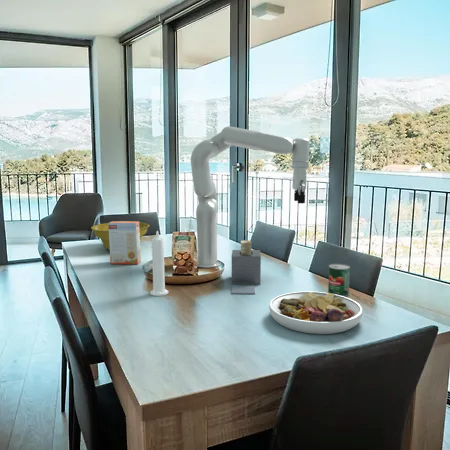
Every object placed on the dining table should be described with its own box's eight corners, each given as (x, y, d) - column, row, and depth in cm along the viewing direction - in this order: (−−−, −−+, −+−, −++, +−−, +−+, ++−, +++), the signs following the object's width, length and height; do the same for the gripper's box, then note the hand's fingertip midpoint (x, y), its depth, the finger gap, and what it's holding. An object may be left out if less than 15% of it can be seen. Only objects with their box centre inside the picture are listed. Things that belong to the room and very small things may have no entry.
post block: (231, 284, 190) (231, 256, 188) (232, 276, 202) (232, 249, 200) (260, 284, 189) (260, 256, 187) (259, 276, 201) (259, 250, 199)
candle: (164, 296, 174) (163, 232, 170) (147, 295, 176) (145, 232, 172) (170, 291, 181) (169, 229, 177) (153, 290, 183) (151, 228, 178)
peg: (240, 265, 192) (240, 242, 191) (241, 263, 197) (241, 240, 195) (251, 265, 192) (251, 242, 190) (251, 263, 196) (251, 240, 195)
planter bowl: (102, 243, 275) (101, 221, 272) (155, 243, 273) (154, 221, 271) (83, 255, 243) (82, 230, 241) (143, 255, 242) (142, 230, 239)
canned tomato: (349, 291, 179) (350, 264, 178) (348, 297, 172) (350, 269, 170) (328, 289, 182) (329, 263, 180) (327, 296, 174) (328, 268, 172)
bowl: (254, 310, 160) (254, 289, 158) (327, 300, 170) (328, 280, 169) (297, 344, 132) (298, 318, 131) (381, 329, 142) (383, 305, 141)
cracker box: (141, 261, 228) (139, 220, 225) (137, 264, 222) (136, 222, 219) (114, 261, 230) (112, 220, 226) (110, 264, 224) (108, 222, 220)
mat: (231, 294, 177) (231, 292, 177) (232, 287, 186) (232, 285, 186) (254, 294, 176) (254, 292, 176) (254, 287, 185) (254, 285, 185)
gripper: (289, 164, 219) (288, 200, 222) (295, 166, 202) (294, 204, 205) (304, 164, 219) (303, 199, 222) (312, 166, 202) (311, 204, 205)
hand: (299, 202), depth 213 cm, fingers open, 9 cm apart
